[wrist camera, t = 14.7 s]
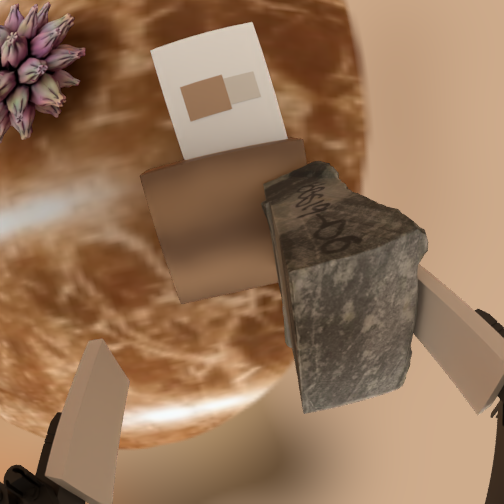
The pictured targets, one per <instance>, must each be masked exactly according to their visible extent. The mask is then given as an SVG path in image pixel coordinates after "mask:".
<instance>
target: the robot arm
mask: <svg viewBox="0 0 504 504" xmlns="http://www.w3.org/2000/svg"><path fill="white" fill-rule="evenodd" d="M417 279H418V288H419V289H418V299H417V314H416V320H415V326H414V331H413V333H414V335H415V336H416V337H417V338H418V339H419V340H420V342H421V343H422V344H423V345H424V347H426V349H427V350H428V351H429V352H430V354H431V355H432V356H433V357H434V359H435V360H436V361H437V362H438V364H439V365H440V366H441V367H442V369H443V370H444V371H445V373H446V374H447V375H448V376H449V378H450V379H451V380H452V381H453V383H454V384H455V385H456V387H457V388H458V389H459V390H460V392H461V393H462V394H463V396H464V397H465V398H466V400H467V401H468V402H469V404H470V405H471V407H472V408H473V409H474V411H475V412H476V414H477V415H479V414H480V413H482V412H483V411H484V410H485V409H487V408H488V407H490V406H491V404H492V403H493V402H494V400H495V399H496V397H497V396H498V397H499V398H500V401H499V403H498V404H497V406H496V407H495V409H494V410H493V411H492V413H491V418H493V416H494V415H495V414H496V412H497V411H498V414H497V416H496V418H498V420H497V434H496V435H497V436H496V445H495V454H494V460H493V467H492V473H491V478H490V484H489V488H488V493H487V497H486V502H485V504H504V327H503V326H502V325H500V323H497V321H496V320H495V319H494V318H493V317H492V316H491V315H490V314H488V313H486V312H484V311H482V310H480V309H477V310H475V311H474V310H473V309H472V308H471V307H470V306H469V305H467V304H466V303H465V302H464V301H463V300H462V299H461V298H460V297H458V296H457V295H456V294H455V293H454V292H453V291H451V290H450V289H449V288H448V287H446V286H445V285H444V284H443V283H442V282H441V281H439V280H438V279H437V278H436V277H435V276H433V275H432V274H431V273H430V272H428V271H427V270H426V269H425V268H423V267H422V266H421V265H420V264H418V271H417ZM129 383H130V381H129V379H128V378H127V376H126V375H125V373H124V372H123V370H122V369H121V367H120V366H119V364H118V363H117V361H116V359H115V358H114V356H113V355H112V353H111V351H110V350H109V348H108V346H107V345H106V343H105V341H104V340H103V339H97V340H91V341H88V344H87V346H86V349H85V351H84V354H83V356H82V359H81V361H80V364H79V366H78V369H77V371H76V374H75V377H74V379H73V382H72V385H71V388H70V390H69V393H68V396H67V399H66V402H65V405H64V408H63V411H62V413H61V412H57V414H56V415H55V417H54V418H53V419H52V421H51V423H50V426H49V429H48V432H47V434H48V435H46V439H45V444H44V446H43V449H42V453H41V456H40V460H39V464H38V468H37V472H36V475H33V474H32V473H31V472H29V471H28V470H27V469H25V468H24V467H22V466H21V465H14V466H11V467H10V468H9V469H8V470H7V472H6V474H5V476H4V484H3V483H1V482H0V504H85V501H86V502H87V503H89V504H112V501H113V489H114V480H115V470H116V462H117V455H118V447H119V440H120V434H121V427H122V421H123V415H124V409H125V404H126V398H127V393H128V388H129Z"/></svg>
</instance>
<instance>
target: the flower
mask: <svg viewBox="0 0 504 504" xmlns="http://www.w3.org/2000/svg"><path fill="white" fill-rule="evenodd" d="M50 6H51V4H49V2H47V3H45V4H44V6H43V7H42V9H41V10H40V11H39V12H38V13H37V11H38V4H35V5H34V6H32V8H31V9H30V11H29V13H28V15H27V16H26V18H25V19H24V17H23V16H22V15H21V13H20V11H19V4H15V5H14V6H11V8H10V13H9V15H8V17H7V19H6V21H5V24H4V26H2V25H0V143H1V142H2V139H3V136H4V134H5V133H6V132H7V130H8V129H9V127H10V126H13V127H14V128H15V129H16V130H17V131H18V132H19V133H20V135H21V138H22V140H23V139H26V138H29V137H30V136H31V133H32V131H33V130H32V123H33V121H34V117H35V109H37V110H38V111H39V112H42V113H49V114H52V115H53V116H54V117H58V114H60V112H61V109H60V108H59V107H60V106H61V107H63V103H65V102H66V96H65V95H64V94H62V92H61V88H62V87H70V86H73V85H75V86H77V85H78V84H79V82H80V80H78V79H75V78H74V77H72V76H71V75H70V74H69V73H68V72H66V71H64V70H61V69H63V68H66V67H67V66H69V65H70V64H72V63H73V62H74V61H75V60H76V59H79V58H80V57H83V56H85V51H86V50H85V48H76V47H73V46H71V45H67V44H64V45H59V44H60V43H61V42H62V41H63V39H64V38H65V36H66V34H67V33H68V31H69V29H70V28H71V27H72V26H73V25H74V23H73V22H72V21H73V20H74V17H72V16H71V14H69V13H67V14H66V15H64V16H63V17H62V18H60V19H57V20H54V21H51V22H49V23H48V11H49V8H50Z"/></svg>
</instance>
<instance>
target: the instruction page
mask: <svg viewBox="0 0 504 504" xmlns="http://www.w3.org/2000/svg"><path fill="white" fill-rule="evenodd" d="M150 51H151V55H152V58H153V62H154V65H155V68H156V72H157V75H158V78H159V82H160V85H161V88H162V92H163V95H164V98H165V101H166V104H167V108H168V111H169V114H170V117H171V120H172V123H173V127H174V130H175V133H176V136H177V139H178V142H179V145H180V148H181V151H182V154H183V157H184V160H188V159H192V158H196V157H200V156H204V155H208V154H212V153H217V152H221V151H226V150H231V149H235V148H240V147H245V146H250V145H256V144H261V143H266V142H272V141H278V140H284V139H288V138H287V134H286V130H285V127H284V123H283V119H282V116H281V112H280V109H279V105H278V102H277V98H276V95H275V91H274V88H273V85H272V81H271V78H270V75H269V72H268V68H267V65H266V62H265V59H264V56H263V53H262V49H261V46H260V43H259V40H258V37H257V34H256V31H255V29H254V26H253V23H252V22H250V23H245V24H240V25H235V26H231V27H226V28H222V29H218V30H214V31H210V32H206V33H202V34H199V35H195V36H192V37H189V38H185V39H182V40H179V41H176V42H173V43H170V44H167V45H164V46H161V47H158V48H156V49H153V50H150Z"/></svg>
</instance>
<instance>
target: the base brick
mask: <svg viewBox="0 0 504 504" xmlns="http://www.w3.org/2000/svg"><path fill="white" fill-rule="evenodd" d="M305 165H307V162H306V155H305V149H304V142H303V139H298V138H289V139H284V140H278V141H272V142H266V143H261V144H256V145H250V146H245V147H240V148H235V149H231V150H226V151H221V152H217V153H212V154H208V155H204V156H200V157H196V158H192V159H188V160H183V161H179V162H175V163H171V164H167V165H164V166H160V167H157V168H153V169H150V170H147V171H146V172H144V173H143V174H141V175H140V178H141V182H142V186H143V189H144V193H145V196H146V200H147V203H148V207H149V210H150V213H151V217H152V220H153V223H154V227H155V230H156V233H157V236H158V239H159V242H160V245H161V248H162V251H163V254H164V257H165V260H166V263H167V266H168V269H169V272H170V275H171V278H172V281H173V283H174V286H175V289H176V292H177V294H178V297H179V300H180V302H181V304H185V303H189V302H194V301H199V300H203V299H208V298H212V297H217V296H221V295H226V294H230V293H235V292H239V291H243V290H248V289H252V288H256V287H261V286H265V285H269V284H273V283H277V282H278V277H277V271H276V265H275V258H274V252H273V245H272V239H271V233H270V229H269V224H268V221H267V218H266V216H265V214H264V211H263V209H262V206H261V203H262V202H263V201H265V200H266V199H265V192H264V186H263V184H264V183H267V182H269V181H272V180H275V179H277V178H279V177H280V176H282V175H285V174H288V173H290V172H292V171H294V170H296V169H299V168H301V167H303V166H305Z"/></svg>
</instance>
